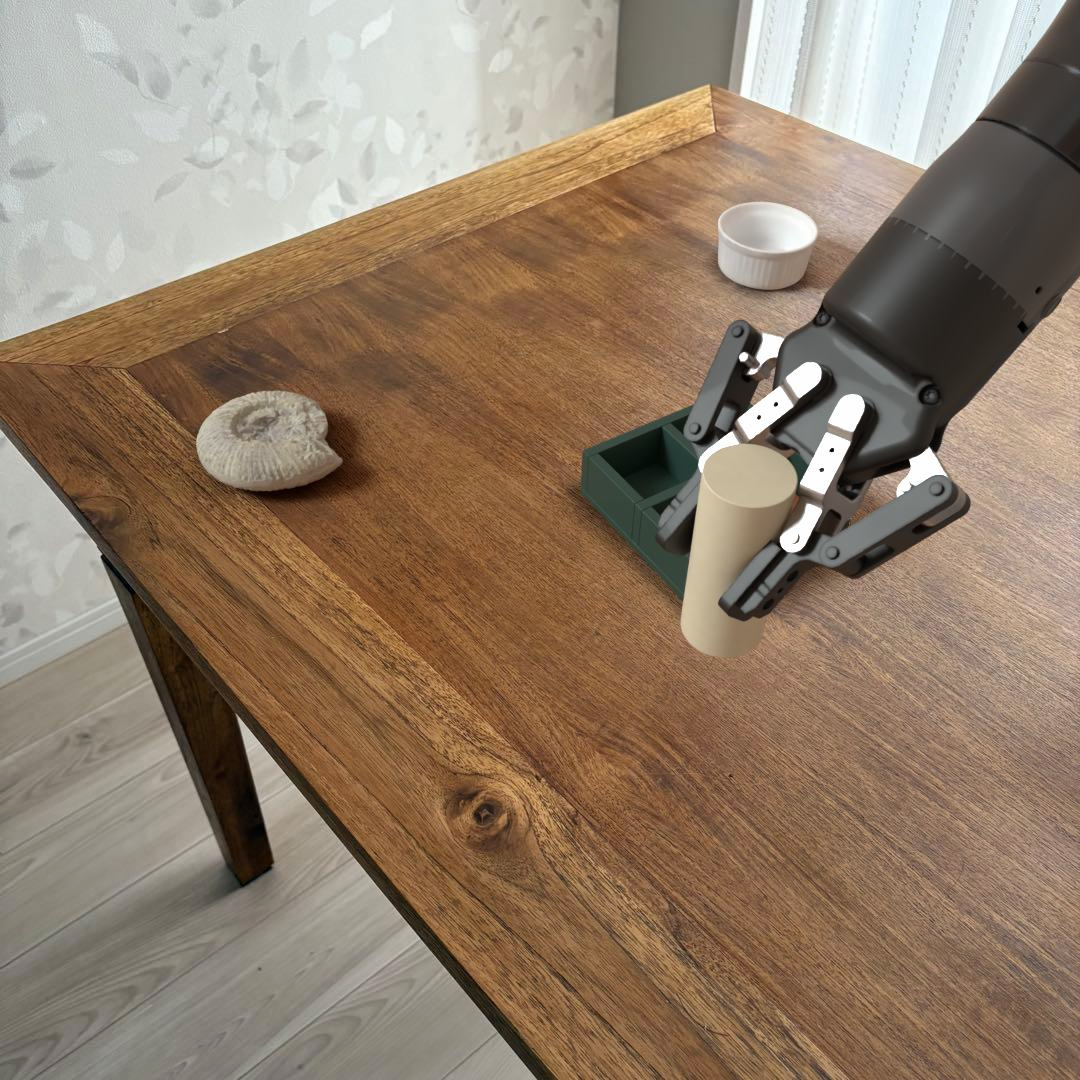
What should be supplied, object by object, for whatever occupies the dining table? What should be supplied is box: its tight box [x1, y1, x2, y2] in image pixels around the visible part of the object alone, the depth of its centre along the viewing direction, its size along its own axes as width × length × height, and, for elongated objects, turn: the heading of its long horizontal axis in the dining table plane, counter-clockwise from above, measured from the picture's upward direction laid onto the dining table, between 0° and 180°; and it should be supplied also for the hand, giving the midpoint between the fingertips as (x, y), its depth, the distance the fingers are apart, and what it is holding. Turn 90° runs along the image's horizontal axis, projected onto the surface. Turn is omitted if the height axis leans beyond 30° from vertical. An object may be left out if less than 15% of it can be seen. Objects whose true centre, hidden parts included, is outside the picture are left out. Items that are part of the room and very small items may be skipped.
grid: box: [580, 403, 852, 601], centre depth 77 cm, size 13×13×4 cm
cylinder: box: [680, 444, 798, 659], centre depth 50 cm, size 4×4×10 cm
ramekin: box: [717, 201, 820, 291], centre depth 100 cm, size 9×9×4 cm
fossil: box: [195, 390, 344, 492], centre depth 82 cm, size 11×4×10 cm
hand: (700, 579), depth 50 cm, fingers closed on cylinder, 4 cm apart
